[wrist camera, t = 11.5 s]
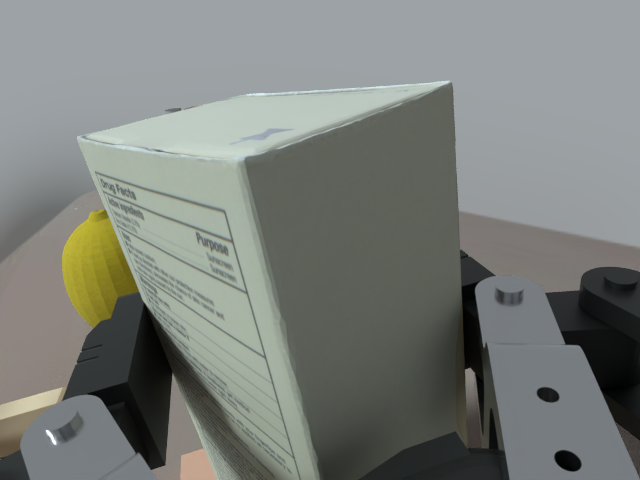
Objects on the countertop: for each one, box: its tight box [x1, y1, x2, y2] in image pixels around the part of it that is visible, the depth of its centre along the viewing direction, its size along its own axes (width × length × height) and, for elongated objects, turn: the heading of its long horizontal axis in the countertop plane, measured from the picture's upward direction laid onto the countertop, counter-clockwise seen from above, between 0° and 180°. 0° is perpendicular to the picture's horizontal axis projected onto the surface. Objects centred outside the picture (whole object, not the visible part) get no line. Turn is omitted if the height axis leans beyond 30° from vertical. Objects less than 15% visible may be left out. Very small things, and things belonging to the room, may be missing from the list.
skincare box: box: [77, 81, 468, 480], centre depth 10 cm, size 6×4×12 cm
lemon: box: [62, 209, 139, 328], centre depth 24 cm, size 6×6×8 cm
